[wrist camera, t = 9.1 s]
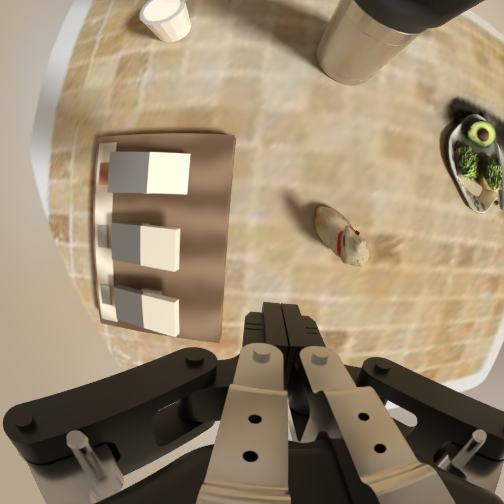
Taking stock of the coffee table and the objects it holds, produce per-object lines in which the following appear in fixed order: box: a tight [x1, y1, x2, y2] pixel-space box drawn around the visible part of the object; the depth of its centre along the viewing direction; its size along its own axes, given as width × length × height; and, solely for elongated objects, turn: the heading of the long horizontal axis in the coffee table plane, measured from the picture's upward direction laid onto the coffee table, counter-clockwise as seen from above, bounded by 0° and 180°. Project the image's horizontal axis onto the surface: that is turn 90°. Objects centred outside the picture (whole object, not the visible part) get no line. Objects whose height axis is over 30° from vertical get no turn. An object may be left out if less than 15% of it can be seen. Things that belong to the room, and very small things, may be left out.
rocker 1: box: [107, 152, 191, 194], centre depth 31 cm, size 5×10×2 cm, turn 85°
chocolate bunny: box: [315, 206, 369, 267], centre depth 33 cm, size 6×8×10 cm
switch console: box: [93, 133, 236, 343], centre depth 36 cm, size 29×20×5 cm
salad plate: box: [446, 114, 504, 214], centre depth 33 cm, size 19×18×5 cm
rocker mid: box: [111, 222, 180, 272], centre depth 33 cm, size 5×10×2 cm, turn 85°
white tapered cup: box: [140, 0, 191, 42], centre depth 27 cm, size 7×7×7 cm
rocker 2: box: [114, 285, 179, 337], centre depth 35 cm, size 5×10×2 cm, turn 85°
